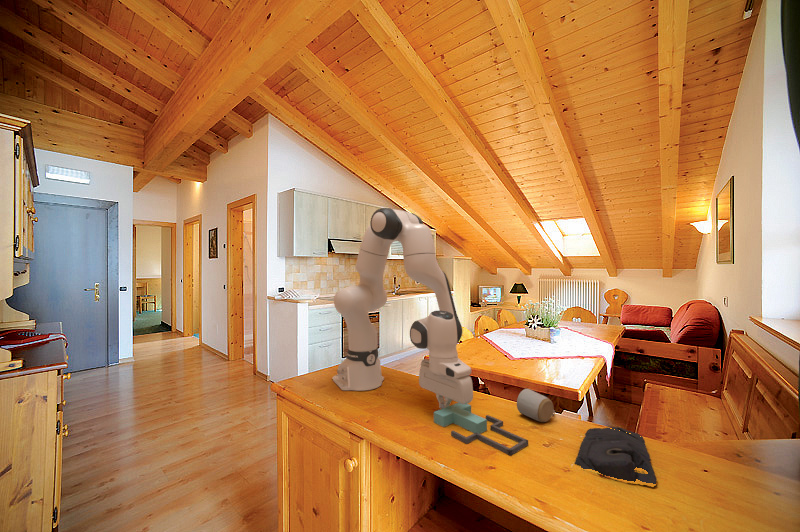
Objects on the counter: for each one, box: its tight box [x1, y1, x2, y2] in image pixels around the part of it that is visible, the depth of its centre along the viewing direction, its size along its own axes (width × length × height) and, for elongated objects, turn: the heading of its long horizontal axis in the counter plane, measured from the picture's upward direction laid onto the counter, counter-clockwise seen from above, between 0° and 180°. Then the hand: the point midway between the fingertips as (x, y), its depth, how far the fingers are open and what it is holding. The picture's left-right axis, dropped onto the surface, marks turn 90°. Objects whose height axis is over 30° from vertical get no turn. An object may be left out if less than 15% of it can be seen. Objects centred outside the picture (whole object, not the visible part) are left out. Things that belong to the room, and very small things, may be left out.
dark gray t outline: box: [450, 414, 529, 457], centre depth 90 cm, size 16×16×1 cm
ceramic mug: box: [516, 388, 556, 423], centre depth 102 cm, size 11×8×8 cm
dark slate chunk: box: [574, 426, 658, 484], centre depth 81 cm, size 15×22×5 cm
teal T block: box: [433, 402, 488, 435], centre depth 98 cm, size 13×12×3 cm
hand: (444, 409), depth 104 cm, fingers closed
